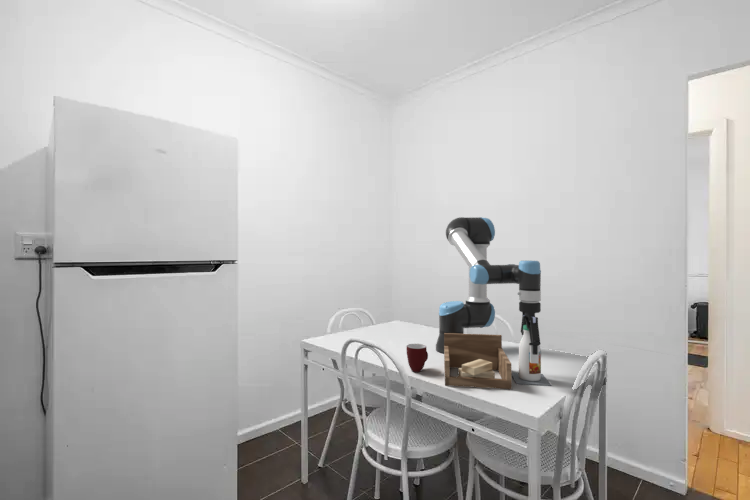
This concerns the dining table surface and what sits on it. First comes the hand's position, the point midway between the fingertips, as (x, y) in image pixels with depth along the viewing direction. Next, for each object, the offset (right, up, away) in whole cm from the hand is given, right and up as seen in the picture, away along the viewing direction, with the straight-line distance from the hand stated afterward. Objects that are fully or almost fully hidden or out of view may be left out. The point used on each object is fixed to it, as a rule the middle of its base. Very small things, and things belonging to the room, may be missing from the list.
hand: (529, 357), depth 142 cm
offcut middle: (-21, -6, -2) cm, 22 cm away
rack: (-20, -8, +3) cm, 22 cm away
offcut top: (-21, -4, -3) cm, 21 cm away
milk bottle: (0, -8, 0) cm, 8 cm away
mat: (0, -8, 0) cm, 8 cm away
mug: (-41, -9, +12) cm, 43 cm away
